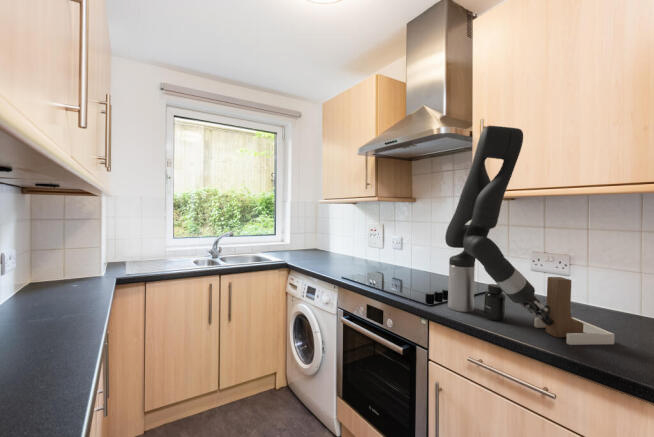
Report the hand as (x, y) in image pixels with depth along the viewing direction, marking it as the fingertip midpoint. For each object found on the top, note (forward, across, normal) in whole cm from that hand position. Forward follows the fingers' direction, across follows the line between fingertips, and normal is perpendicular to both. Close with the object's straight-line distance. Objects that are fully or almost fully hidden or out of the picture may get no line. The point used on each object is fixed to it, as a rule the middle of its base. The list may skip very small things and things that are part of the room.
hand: (549, 323), depth 97 cm
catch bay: (+8, 0, -3) cm, 8 cm away
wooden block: (+6, 0, -1) cm, 6 cm away
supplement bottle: (-3, +15, +9) cm, 18 cm away
